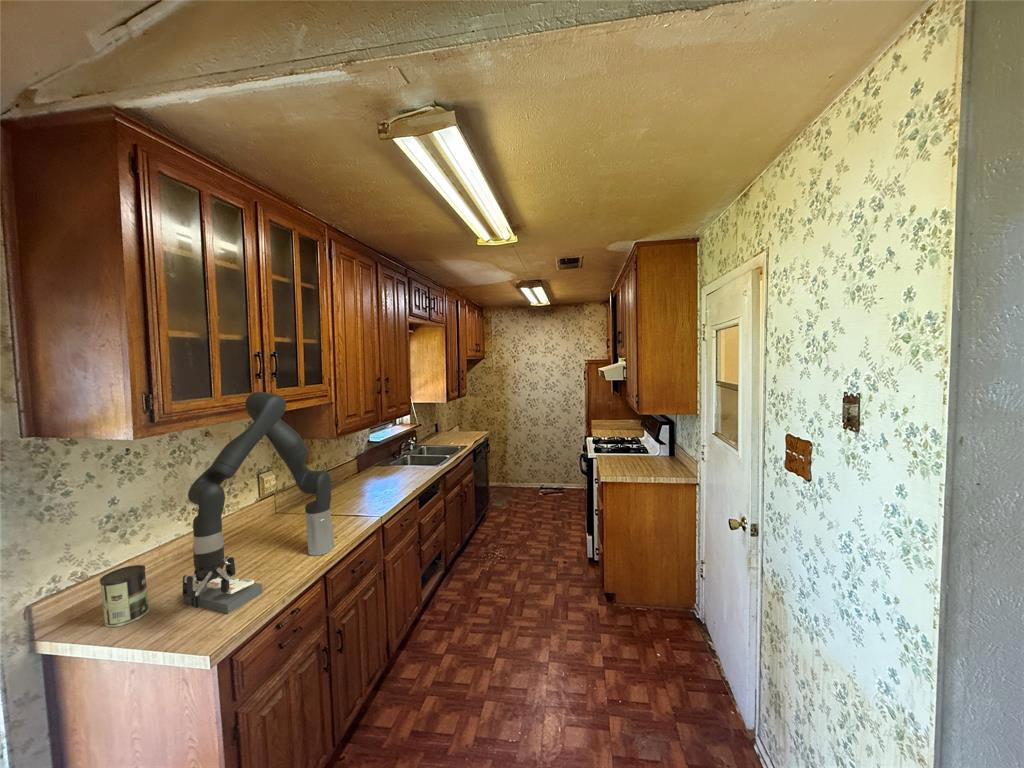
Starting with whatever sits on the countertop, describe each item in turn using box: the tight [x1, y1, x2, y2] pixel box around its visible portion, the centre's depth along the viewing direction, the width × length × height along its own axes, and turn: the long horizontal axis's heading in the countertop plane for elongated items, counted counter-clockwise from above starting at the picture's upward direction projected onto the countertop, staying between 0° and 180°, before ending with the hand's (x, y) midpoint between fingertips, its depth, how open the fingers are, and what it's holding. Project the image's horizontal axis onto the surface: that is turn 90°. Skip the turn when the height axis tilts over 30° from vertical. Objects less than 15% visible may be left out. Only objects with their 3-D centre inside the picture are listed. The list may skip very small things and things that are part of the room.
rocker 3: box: [226, 578, 255, 594], centre depth 134 cm, size 8×5×1 cm, turn 161°
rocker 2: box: [207, 576, 240, 589], centre depth 136 cm, size 8×5×1 cm, turn 161°
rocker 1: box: [194, 577, 222, 584], centre depth 139 cm, size 8×5×1 cm, turn 161°
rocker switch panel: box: [182, 579, 263, 615], centre depth 136 cm, size 12×20×3 cm, turn 71°
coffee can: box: [99, 564, 150, 628], centre depth 127 cm, size 10×10×14 cm
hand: (211, 599), depth 125 cm, fingers open, 8 cm apart
